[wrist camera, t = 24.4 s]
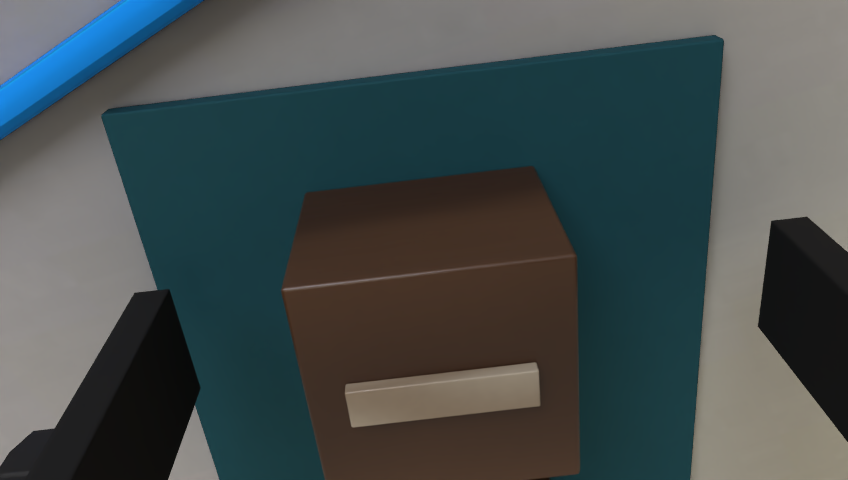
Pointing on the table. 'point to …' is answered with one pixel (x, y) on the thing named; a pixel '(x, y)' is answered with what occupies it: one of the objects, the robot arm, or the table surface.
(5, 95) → the pen
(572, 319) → the tile
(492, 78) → the mat
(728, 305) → the table surface
